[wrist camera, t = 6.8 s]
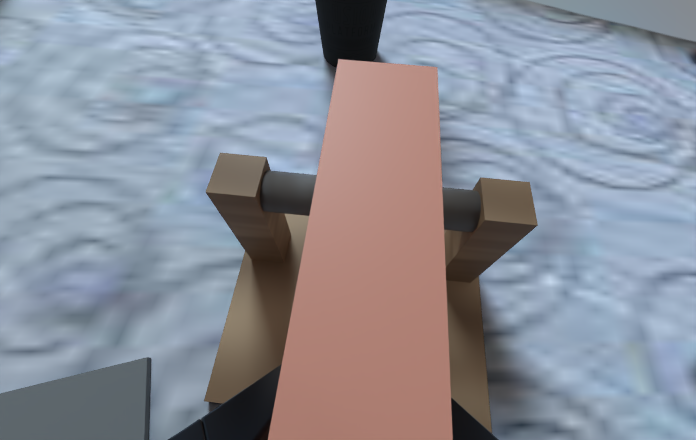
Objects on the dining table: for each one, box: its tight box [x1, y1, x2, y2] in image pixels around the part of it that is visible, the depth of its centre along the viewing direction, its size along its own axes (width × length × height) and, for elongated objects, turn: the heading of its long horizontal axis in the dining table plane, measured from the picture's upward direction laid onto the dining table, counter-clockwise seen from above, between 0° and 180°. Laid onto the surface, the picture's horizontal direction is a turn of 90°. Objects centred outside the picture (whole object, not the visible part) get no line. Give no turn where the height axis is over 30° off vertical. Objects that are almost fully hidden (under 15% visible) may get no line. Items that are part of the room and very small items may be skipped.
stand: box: [204, 153, 538, 433], centre depth 16 cm, size 13×14×8 cm
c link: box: [268, 59, 453, 440], centre depth 11 cm, size 9×5×12 cm, turn 174°
